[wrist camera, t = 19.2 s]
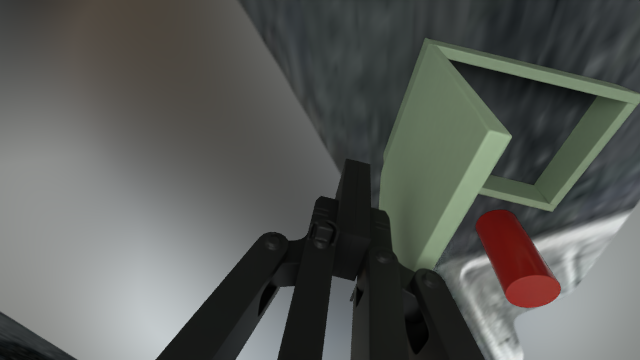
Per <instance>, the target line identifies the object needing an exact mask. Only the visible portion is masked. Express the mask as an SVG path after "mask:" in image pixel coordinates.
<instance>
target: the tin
mask: <svg viewBox="0 0 640 360" xmlns="http://www.w3.org/2000/svg"><path fill="white" fill-rule="evenodd" d="M476 231H477V233H478V236H479V238H480V240H481V242H482V245H483V247H484V249H485V251H486V254H487V256H488V258H489V260H490V263H491V265H492V267H493V269H494V271H495V274H496V276H497V278H498V280H499V283H500V285H501V287H502V289H503V292H504V294H505V296H506V298H507V300H508V301H509V302H510V303H512V304H514V305H516V306H519V307H525V308H533V307H539V306H543V305H546V304H548V303H550V302H552V301H553V300H555V299H556V298H557V297H558V295H559V294H560V291H561V287H560V284H559V282H558V281H557V279H556V278H555V276H554V275H553V273H552V271H551V270H550V268H549V267H548V265H547V264H546V262H545V261H544V259H543V258H542V256H541V255H540V253H539V251H538V250H537V248H536V247H535V245H534V244H533V242H532V241H531V239H530V238H529V236H528V234H527V233H526V231H525V230H524V228H523V227H522V225H521V224H520V222H519V221H518V219H517V217H516V216H515V215H514V214H513V213H511V212H510V211H507V210H493V211H490V212H487V213H485V214H484V215H482V216H481V217H480V218H479V219H478V221H477V223H476Z"/></svg>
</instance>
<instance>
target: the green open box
mask: <svg viewBox="0 0 640 360" xmlns="http://www.w3.org/2000/svg"><path fill="white" fill-rule="evenodd" d="M428 44H432V45H436V46H437V47H438V48H439V49H440V50H441V52H442V53H443V54H444V55H445V56H446V58H447V59H450V60H454V61H458V62H463V63H467V64H471V65H475V66H479V67H483V68H487V69H491V70H496V71H500V72H504V73H508V74H512V75H516V76H520V77H524V78H528V79H533V80H537V81H541V82H545V83H549V84H553V85H557V86H561V87H566V88H570V89H574V90H578V91H582V92H586V93H590V94H594V95H598V96H597V97H596V99H595V100H594V102H593V103H592V104H591V106H590V107H589V109H588V110H587V111H586V113H585V114H584V116H583V117H582V118H581V120H580V121H579V123H578V124H577V125H576V127H575V128H574V130H573V131H572V132H571V134H570V135H569V137H568V138H567V139H566V141H565V142H564V144H563V145H562V146H561V148H560V149H559V151H558V152H557V153H556V155H555V156H554V158H553V159H552V160H551V162H550V163H549V165H548V166H547V167H546V169H545V170H544V172H543V173H542V174H541V176H540V177H539V179H538V180H537V181H536V183H535V184H534V185H530V184H526V183H522V182H518V181H514V180H510V179H506V178H502V177H498V176H493V175H489V176H488V178H487V180H486V181H485V183H484V185H483V186H482V188H481V190H480V191H479V193H478V194H482V195H486V196H490V197H494V198H498V199H502V200H506V201H510V202H514V203H519V204H523V205H527V206H531V207H535V208H539V209H543V210H547V211H551V212H552V211H553V210H554V209H555V208H556V205H558V204H559V202H560V201H561V200H562V199H563V197H564V196H565V195H566V194H567V192H568V191H569V190H570V189H571V187H572V186H573V185H574V184H575V182H576V181H577V180H578V179H579V177H580V176H581V175H582V174H583V172H584V171H585V170H586V169H587V167H588V166H589V165H590V164H591V162H592V161H593V160H594V159H595V157H596V156H597V155H598V154H599V152H600V151H601V150H602V149H603V147H604V146H605V145H606V144H607V142H608V141H609V140H610V139H611V137H612V136H613V135H614V134H615V132H616V131H617V130H618V129H619V127H620V126H621V125H622V124H623V122H624V121H625V120H626V119H627V117H628V116H629V115H630V114H631V112H632V111H633V110H634V109H635V107H636V106H637V105H638V104H639V103H640V93H637V92H634V91H632V90H629V89H627V88H624V87H622V86H619V85H616V84H613V83H609V82H605V81H600V80H596V79H592V78H588V77H584V76H580V75H576V74H572V73H568V72H563V71H559V70H555V69H551V68H547V67H543V66H539V65H535V64H530V63H526V62H522V61H518V60H514V59H510V58H506V57H502V56H498V55H493V54H489V53H485V52H481V51H477V50H473V49H469V48H465V47H460V46H456V45H452V44H448V43H444V42H440V41H436V40H432V39H427V38H425V40H424V43H423V46H422V48H421V51H420V54H419V57H418V59H417V62H416V65H415V68H414V71H413V73H412V76H411V79H410V82H409V84H408V87H407V90H406V93H405V96H404V98H403V101H402V104H401V107H400V109H399V112H398V115H397V118H396V121H395V123H394V126H393V129H392V132H391V134H390V137H389V140H388V143H387V146H386V148H385V151H384V154H383V159H384V163H385V161H386V158H387V155H388V152H389V150H390V147H391V144H392V142H393V139H394V136H395V133H396V131H397V128H398V125H399V123H400V120H401V117H402V114H403V112H404V109H405V106H406V104H407V101H408V98H409V95H410V93H411V90H412V87H413V85H414V82H415V79H416V77H417V74H418V71H419V68H420V66H421V63H422V60H423V58H424V55H425V52H426V49H427V47H428Z"/></svg>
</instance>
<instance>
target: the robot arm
mask: <svg viewBox="0 0 640 360" xmlns="http://www.w3.org/2000/svg"><path fill="white" fill-rule="evenodd" d="M332 276H336V277H340V278H344V279H348V280H352V281H355V279H356V276H357V284H356V286H355V288H354V291H353V293H352V296H351V299H350V301H353V298H354V301H353V320H352V321H353V322H352V341H351V360H485V359H484V357H483V355H482V353H481V351H480V349H479V347H478V346H477V344H476V342H475V340H474V338H473V336H472V334H471V332H470V330H469V328H468V326H467V324H466V322H465V320H464V318H463V316H462V315H461V313H460V311H459V309H458V307H457V305H456V303H455V301H454V299H453V297H452V295H451V293H450V291H449V289H448V287H447V286H446V284H445V282H444V280H443V279H442V277H441V276H440V275H439V274H437V273H436V272H434V271H432V270H430V269H426V268H421V269H418V270H417V271H416V272H414V271H412V270H410V269H408V268H406V267H405V266H403V265H402V264H400V263H399V261H398V258H397V256H396V255H395V253H394V252H393V248H392V237H391V227H390V218H389V216H388V214H387V213H386V211H384V210H379V209H375V208H371V183H370V164H367V163H362V162H358V161H354V160H350V159H346V161H345V165H344V168H343V172H342V175H341V179H340V182H339V186H338V189H337V193H336V198H335V199H331V198H328V197H323V196H321V197H319V198H318V199H317V200H316V202H315V206H314V210H313V215H312V219H311V223H310V227H309V231H308V233H307V235H306V236H305V237H304V238H302V239H300V240H295V241H288V240H287V239H286V237H285V236H284V235H282V234H280V233H276V232H268V233H265V234H263V235H262V236H261V237H259V239H258V240H257V241H256V242H255V243H254V245H253V246H252V247H251V248H250V249H249V250H248V252H247V253H246V254H245V255H244V256H243V258H242V259H241V260H240V261H239V262H238V263H237V265H236V266H235V267H234V268H233V269H232V270H231V272H230V273H229V274H228V275H227V276H226V277H225V279H224V280H223V281H222V282H221V283H220V285H219V286H218V287H217V288H216V289H215V290H214V292H213V293H212V294H211V295H210V296H209V297H208V299H207V300H206V301H205V302H204V303H203V304H202V306H201V307H200V308H199V309H198V310H197V312H196V313H195V314H194V315H193V316H192V317H191V319H190V320H189V321H188V322H187V323H186V324H185V326H184V327H183V328H182V329H181V330H180V332H179V333H178V334H177V335H176V336H175V338H174V339H173V340H172V341H171V342H170V343H169V344H168V346H167V347H166V348H165V349H164V350H163V352H162V353H161V354H160V355H159V356H158V357H157V359H156V360H236V358H237V356H238V355H239V353H240V351H241V350H242V348H243V346H244V345H245V343H246V341H247V340H248V339H249V337H250V335H251V334H252V332H253V331H254V329H255V327H256V326H257V324H258V323H259V321H260V319H261V318H262V316H263V315H264V313H265V311H266V310H267V308H268V306H269V305H270V303H271V302H272V300H273V299H274V297H275V295H276V294H277V292H278V291H279V289H280V287H286V286H295V288H294V293H293V297H292V301H291V305H290V309H289V313H288V318H287V322H286V326H285V330H284V334H283V338H282V343H281V346H280V351H279V355H278V359H277V360H322V352H323V345H324V337H325V329H326V321H327V312H328V304H329V296H330V288H331V280H332Z"/></svg>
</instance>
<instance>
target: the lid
mask: <svg viewBox="0 0 640 360" xmlns="http://www.w3.org/2000/svg"><path fill="white" fill-rule="evenodd" d="M511 138H512V135H511V134H510V133H509V132H508V131H507V130H506V128H505V127H504V126H503V125H502V124H501V122H500V121H499V120H498V119H497V118H496V116H495V115H494V114H493V113H492V112H491V110H490V109H489V108H488V107H487V106H486V104H485V103H484V102H483V101H482V100H481V98H480V97H479V96H478V95H477V94H476V92H475V91H474V90H473V89H472V88H471V86H470V85H469V84H468V83H467V82H466V80H465V79H464V78H463V77H462V76H461V74H460V73H459V72H458V71H457V70H456V68H455V67H454V66H453V65H452V64H451V62H450V61H449V60H448V59H447V58H446V56H445V55H444V54H443V53H442V52H441V50H440V49H439V48H438V47H437V46H436V45H432V44H428V47H427V49H426V52H425V55H424V58H423V60H422V63H421V66H420V68H419V71H418V74H417V77H416V79H415V82H414V85H413V87H412V90H411V93H410V95H409V98H408V101H407V104H406V106H405V109H404V112H403V114H402V117H401V120H400V123H399V125H398V128H397V131H396V133H395V136H394V139H393V142H392V144H391V147H390V150H389V152H388V155H387V158H386V161H385V163H384V166H383V169H382V171H381V185H380V199H379V210H384V211H386V213H387V214H388V216H389V218H390V227H391V237H392V248H393V252H394V253H395V255H396V256H397V258H398V261H399V263H400V264H402V265H403V266H405V267H406V268H408V269H410V270H412V271H414V272H416V271H417V270H418V269H421V268H426V269H430V270H432V269H433V268H434V266H435V264H436V263H437V261H438V259H439V258H440V256H441V254H442V253H443V251H444V249H445V248H446V246H447V244H448V243H449V241H450V240H451V238H452V236H453V235H454V233H455V231H456V230H457V228H458V226H459V225H460V223H461V221H462V220H463V218H464V216H465V215H466V213H467V211H468V210H469V208H470V206H471V205H472V203H473V201H474V200H475V198H476V196H477V195H478V193H479V191H480V190H481V188H482V186H483V185H484V183H485V181H486V180H487V178H488V176H489V175H490V173H491V171H492V170H493V168H494V167H495V165H496V163H497V162H498V160H499V158H500V157H501V155H502V153H503V152H504V150H505V148H506V147H507V145H508V143H509V142H510V140H511Z"/></svg>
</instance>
